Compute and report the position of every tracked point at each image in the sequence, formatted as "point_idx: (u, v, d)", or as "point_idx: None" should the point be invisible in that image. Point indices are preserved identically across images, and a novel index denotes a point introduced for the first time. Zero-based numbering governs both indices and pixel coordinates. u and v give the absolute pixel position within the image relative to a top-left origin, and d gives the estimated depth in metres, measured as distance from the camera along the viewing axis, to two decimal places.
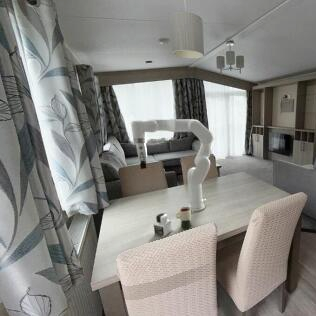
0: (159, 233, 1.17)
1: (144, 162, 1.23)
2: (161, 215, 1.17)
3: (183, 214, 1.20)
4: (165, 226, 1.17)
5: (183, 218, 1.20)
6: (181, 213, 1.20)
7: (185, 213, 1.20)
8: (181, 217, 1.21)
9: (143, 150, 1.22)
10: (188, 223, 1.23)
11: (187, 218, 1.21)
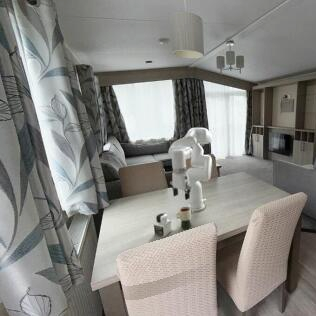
0: (159, 233, 1.17)
1: (189, 192, 1.16)
2: (161, 215, 1.17)
3: (183, 214, 1.20)
4: (165, 226, 1.17)
5: (183, 218, 1.20)
6: (181, 213, 1.20)
7: (185, 213, 1.20)
8: (181, 217, 1.21)
9: (187, 179, 1.15)
10: (188, 223, 1.23)
11: (187, 218, 1.21)
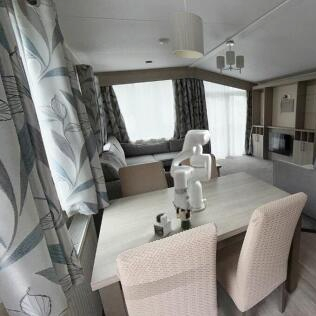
0: (159, 233, 1.17)
1: (189, 211, 1.20)
2: (161, 215, 1.17)
3: (183, 214, 1.20)
4: (165, 226, 1.17)
5: (183, 218, 1.20)
6: (181, 213, 1.20)
7: (185, 213, 1.20)
8: (181, 217, 1.21)
9: (189, 199, 1.18)
10: (188, 223, 1.23)
11: None
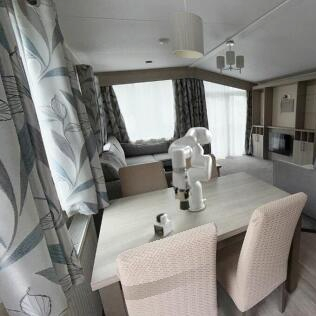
0: (159, 233, 1.17)
1: (188, 192, 1.17)
2: (161, 215, 1.17)
3: (181, 194, 1.17)
4: (165, 226, 1.17)
5: (182, 198, 1.18)
6: (180, 193, 1.17)
7: None
8: (180, 197, 1.18)
9: (188, 179, 1.15)
10: (187, 204, 1.21)
11: (186, 199, 1.18)
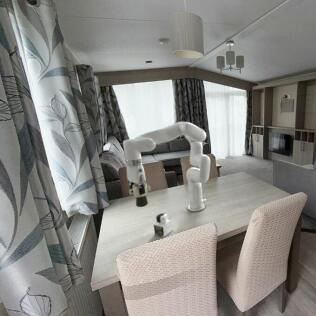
0: (159, 233, 1.17)
1: (144, 187, 1.08)
2: (161, 215, 1.17)
3: (136, 189, 1.08)
4: (165, 226, 1.17)
5: (137, 194, 1.09)
6: (134, 188, 1.08)
7: None
8: (135, 193, 1.09)
9: (142, 172, 1.06)
10: (143, 200, 1.12)
11: None
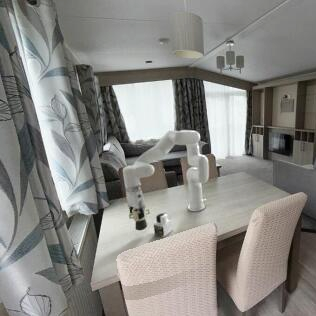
0: (159, 233, 1.17)
1: (143, 211, 1.11)
2: (161, 215, 1.17)
3: (135, 214, 1.11)
4: (165, 226, 1.17)
5: (136, 218, 1.12)
6: (134, 213, 1.11)
7: None
8: (134, 217, 1.12)
9: (142, 198, 1.09)
10: (143, 224, 1.15)
11: None
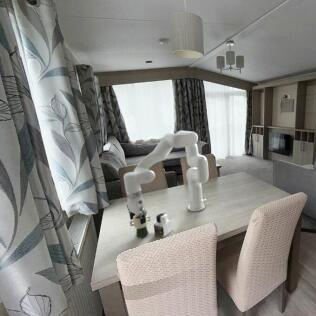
0: (159, 233, 1.17)
1: (145, 216, 1.12)
2: (161, 215, 1.17)
3: (136, 221, 1.12)
4: (165, 226, 1.17)
5: (137, 226, 1.13)
6: (135, 220, 1.12)
7: (139, 220, 1.12)
8: (135, 225, 1.13)
9: (142, 204, 1.10)
10: (143, 231, 1.16)
11: (142, 226, 1.14)
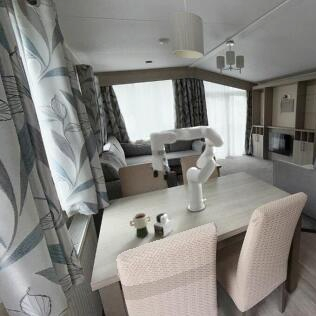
0: (159, 233, 1.17)
1: None
2: (161, 215, 1.17)
3: (136, 221, 1.12)
4: (165, 226, 1.17)
5: (137, 226, 1.13)
6: (135, 220, 1.12)
7: (139, 220, 1.12)
8: (135, 225, 1.13)
9: (166, 161, 1.22)
10: (143, 231, 1.16)
11: (142, 226, 1.14)
